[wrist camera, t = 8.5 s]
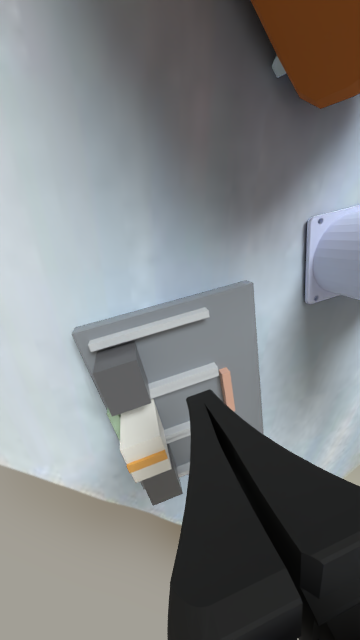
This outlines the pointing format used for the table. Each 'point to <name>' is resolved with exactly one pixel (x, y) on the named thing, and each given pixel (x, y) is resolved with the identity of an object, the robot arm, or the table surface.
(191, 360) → the breaker board
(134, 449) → the handle
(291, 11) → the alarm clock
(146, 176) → the table surface
